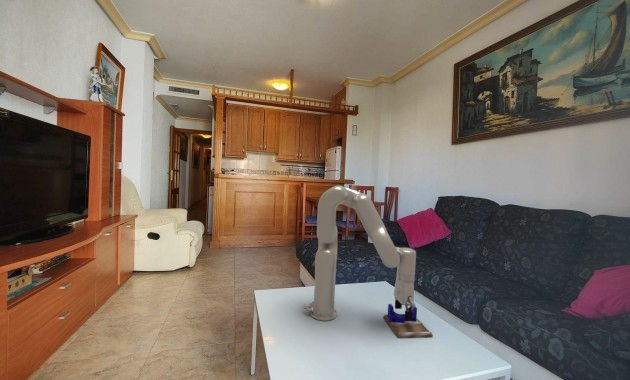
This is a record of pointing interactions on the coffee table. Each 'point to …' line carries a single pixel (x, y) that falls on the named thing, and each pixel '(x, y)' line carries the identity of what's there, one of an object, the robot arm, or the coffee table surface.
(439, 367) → the coffee table surface
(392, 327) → the organizer board
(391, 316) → the cable clip
